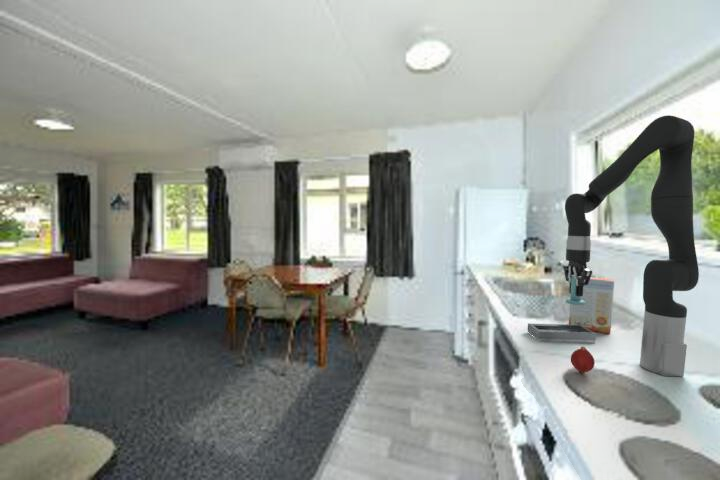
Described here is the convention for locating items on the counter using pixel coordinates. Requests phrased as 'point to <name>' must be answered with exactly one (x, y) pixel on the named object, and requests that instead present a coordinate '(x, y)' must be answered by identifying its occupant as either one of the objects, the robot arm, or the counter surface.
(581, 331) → the grey rectangular tray
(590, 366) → the onion
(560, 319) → the counter surface
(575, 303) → the peg
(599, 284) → the cracker box
